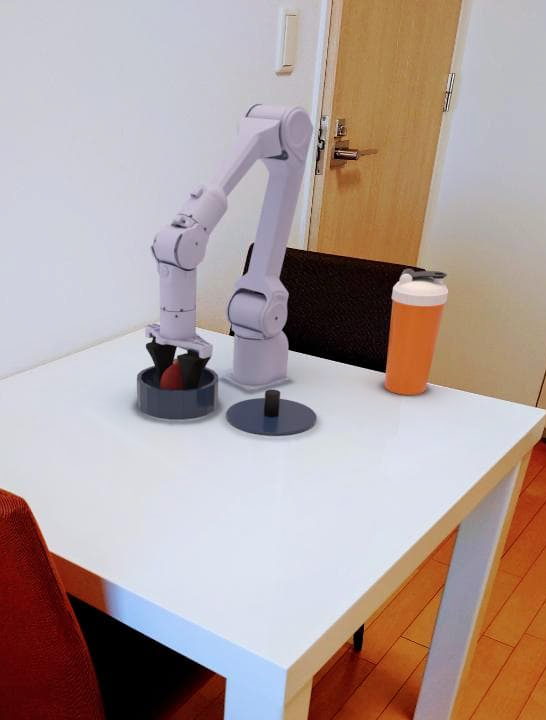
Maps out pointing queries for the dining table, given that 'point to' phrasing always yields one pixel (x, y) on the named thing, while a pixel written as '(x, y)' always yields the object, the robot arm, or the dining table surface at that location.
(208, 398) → the pot
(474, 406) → the dining table surface
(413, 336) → the shaker bottle
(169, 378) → the onion
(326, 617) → the dining table surface
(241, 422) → the lid
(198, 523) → the dining table surface
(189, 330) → the robot arm
